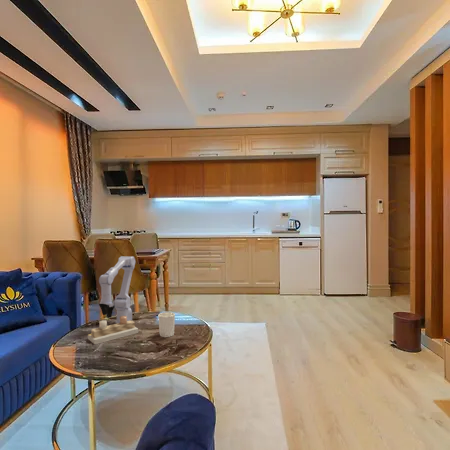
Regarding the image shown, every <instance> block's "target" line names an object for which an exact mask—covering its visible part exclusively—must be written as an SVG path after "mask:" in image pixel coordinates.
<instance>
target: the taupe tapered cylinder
mask: <svg viewBox="0 0 450 450" xmlns="http://www.w3.org/2000/svg"><path fill="white" fill-rule="evenodd" d="M107 322H108V321H107V319H106V320H105V319H103V320H99V322H98V323H99V326H98V328H99V329H106V328H107V326H108V323H107Z"/></svg>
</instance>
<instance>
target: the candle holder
mask: <svg viewBox="0 0 450 450" xmlns="http://www.w3.org/2000/svg"><path fill="white" fill-rule="evenodd" d="M157 317H158V328H159V329H158V330H159V336H160V337H162V338H170V337H172V336H174V335H175V324H176V323H175V322H176V321H175V319H176V318H175V317H176V314H175V312H171V311H165V312H161V313H158V315H157Z"/></svg>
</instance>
